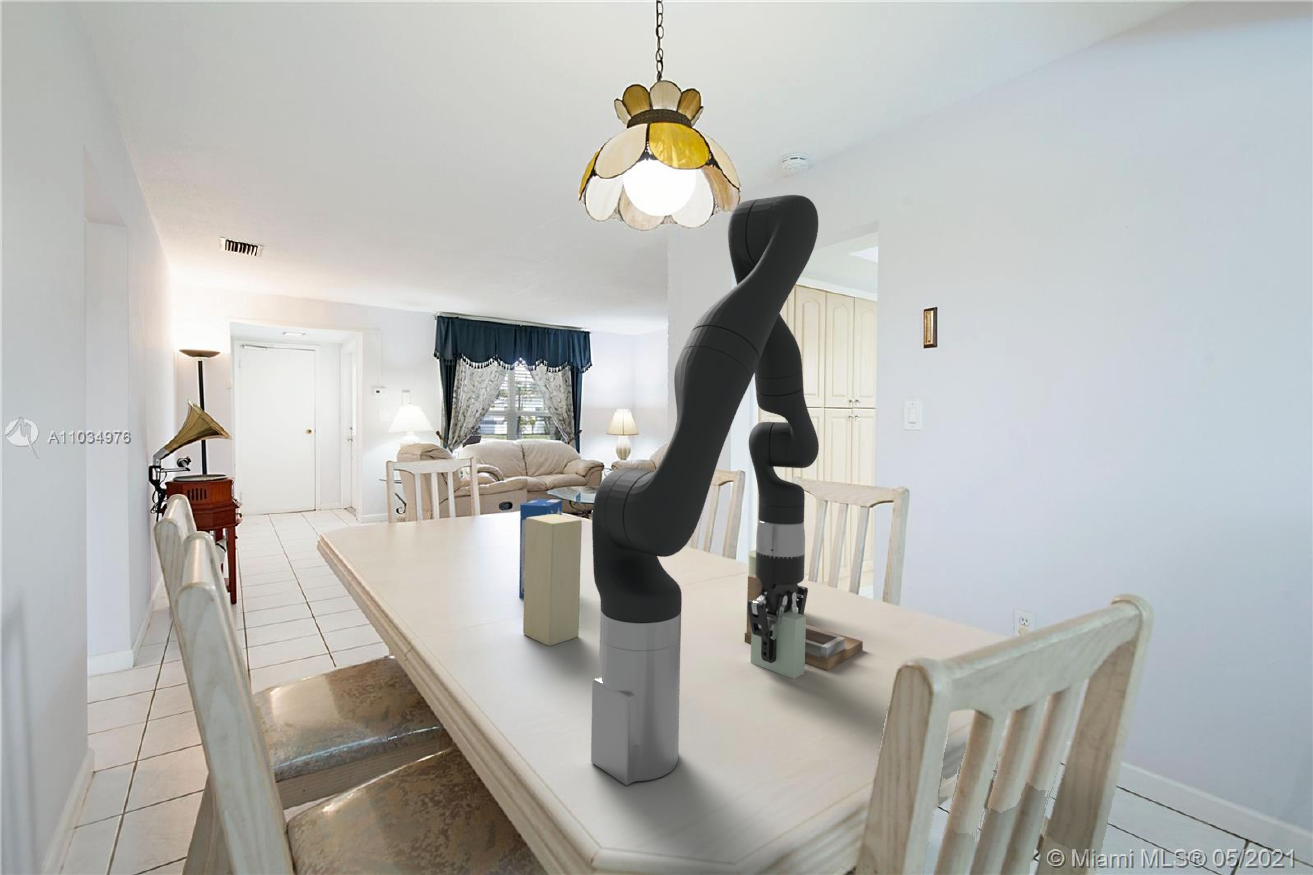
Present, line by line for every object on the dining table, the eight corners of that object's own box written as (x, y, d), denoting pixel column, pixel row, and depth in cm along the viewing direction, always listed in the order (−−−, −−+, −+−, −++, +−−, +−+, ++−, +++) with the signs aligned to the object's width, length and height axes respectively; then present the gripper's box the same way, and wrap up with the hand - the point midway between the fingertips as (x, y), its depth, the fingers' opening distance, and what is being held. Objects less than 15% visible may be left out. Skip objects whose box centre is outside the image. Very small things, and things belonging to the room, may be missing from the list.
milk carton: (535, 584, 136) (536, 498, 136) (561, 586, 135) (562, 499, 135) (519, 598, 126) (520, 504, 126) (547, 599, 125) (548, 505, 125)
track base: (827, 670, 93) (829, 597, 92) (744, 641, 104) (746, 576, 104) (862, 649, 101) (864, 583, 101) (782, 625, 113) (784, 565, 112)
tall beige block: (583, 635, 105) (585, 518, 105) (549, 647, 100) (551, 523, 99) (555, 624, 111) (557, 513, 110) (522, 634, 105) (523, 517, 105)
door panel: (793, 679, 90) (795, 620, 89) (750, 662, 95) (752, 607, 95) (804, 673, 92) (806, 615, 91) (761, 657, 97) (762, 603, 97)
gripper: (774, 561, 85) (771, 678, 86) (824, 547, 95) (821, 651, 96) (733, 551, 90) (730, 662, 91) (784, 539, 101) (781, 639, 101)
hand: (777, 656), depth 93 cm, fingers open, 4 cm apart
